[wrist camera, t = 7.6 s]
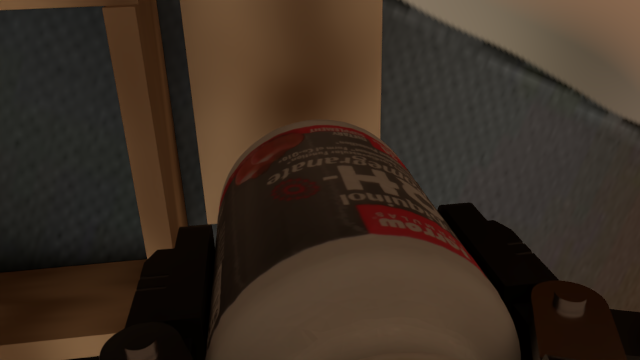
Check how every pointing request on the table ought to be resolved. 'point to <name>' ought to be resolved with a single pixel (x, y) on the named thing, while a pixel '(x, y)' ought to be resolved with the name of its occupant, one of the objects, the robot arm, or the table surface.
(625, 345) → the robot arm
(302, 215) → the pill bottle
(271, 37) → the flat wooden board
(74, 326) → the open wooden box
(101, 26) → the table surface
